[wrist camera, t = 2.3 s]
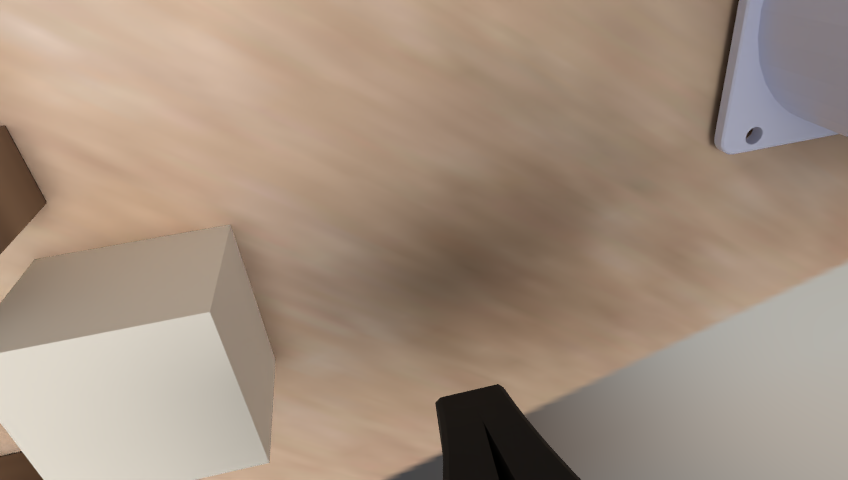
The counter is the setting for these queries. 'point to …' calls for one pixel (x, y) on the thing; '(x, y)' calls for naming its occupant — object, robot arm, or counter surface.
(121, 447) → the off-white block
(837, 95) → the robot arm
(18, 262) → the counter surface
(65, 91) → the counter surface
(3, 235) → the parallel wooden rails
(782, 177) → the counter surface
